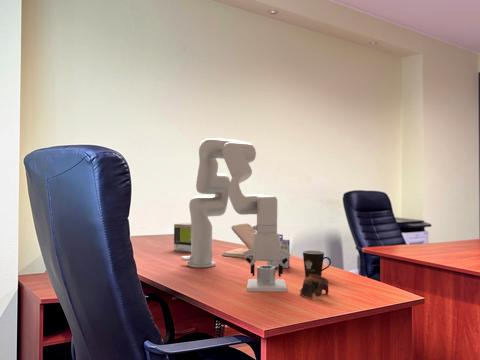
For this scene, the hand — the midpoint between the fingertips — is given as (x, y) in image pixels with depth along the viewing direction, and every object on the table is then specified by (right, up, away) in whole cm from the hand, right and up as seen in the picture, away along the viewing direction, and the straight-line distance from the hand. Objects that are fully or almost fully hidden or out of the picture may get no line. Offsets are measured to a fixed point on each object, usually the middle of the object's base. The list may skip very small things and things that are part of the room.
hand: (266, 275), depth 165 cm
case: (-6, -4, +68) cm, 69 cm away
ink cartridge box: (+8, -4, +38) cm, 39 cm away
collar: (0, -3, 0) cm, 3 cm away
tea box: (-37, -4, +82) cm, 90 cm away
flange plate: (0, -4, 0) cm, 4 cm away
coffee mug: (+21, -4, +16) cm, 27 cm away
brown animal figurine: (+16, -5, -12) cm, 21 cm away
